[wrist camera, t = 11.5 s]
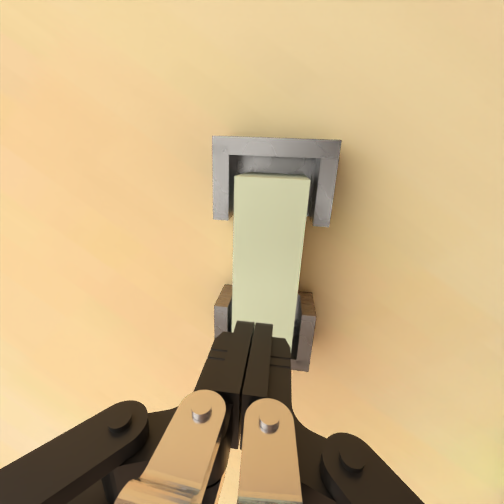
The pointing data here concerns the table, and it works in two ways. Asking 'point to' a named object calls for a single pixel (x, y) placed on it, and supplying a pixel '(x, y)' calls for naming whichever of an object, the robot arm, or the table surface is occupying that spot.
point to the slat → (268, 248)
